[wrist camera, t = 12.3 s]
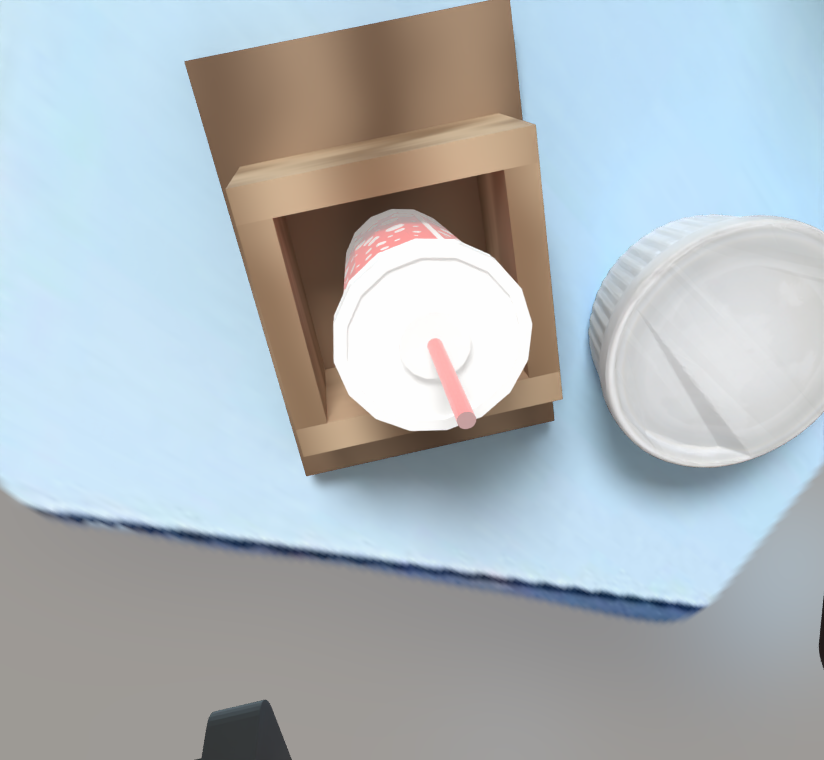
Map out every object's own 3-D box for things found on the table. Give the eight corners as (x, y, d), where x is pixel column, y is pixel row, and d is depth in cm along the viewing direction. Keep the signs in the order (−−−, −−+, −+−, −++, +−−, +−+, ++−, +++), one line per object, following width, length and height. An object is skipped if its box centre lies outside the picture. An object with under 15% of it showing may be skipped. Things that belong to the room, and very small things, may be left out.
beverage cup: (314, 318, 30) (314, 510, 17) (342, 173, 28) (367, 271, 15) (451, 344, 31) (546, 539, 19) (490, 207, 29) (627, 324, 16)
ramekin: (531, 388, 35) (566, 442, 30) (625, 162, 30) (683, 181, 26) (724, 436, 37) (784, 492, 32) (834, 233, 33) (921, 263, 28)
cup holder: (499, -1, 27) (551, -17, 21) (545, 406, 35) (592, 477, 29) (190, 61, 27) (156, 62, 21) (306, 459, 34) (305, 542, 29)
